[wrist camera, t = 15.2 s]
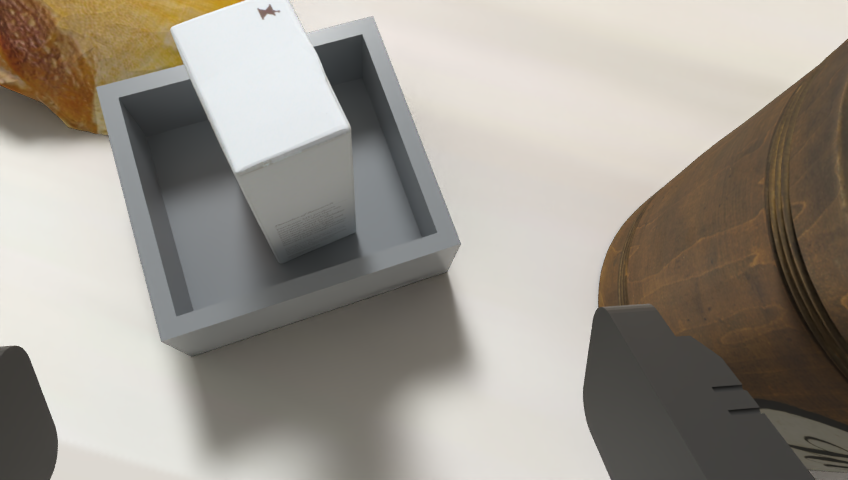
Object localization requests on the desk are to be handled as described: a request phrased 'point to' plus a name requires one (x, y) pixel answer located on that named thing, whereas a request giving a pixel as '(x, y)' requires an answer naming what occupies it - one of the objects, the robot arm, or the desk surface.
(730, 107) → the desk surface
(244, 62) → the skincare box
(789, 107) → the wooden container
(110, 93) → the box
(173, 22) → the seashell
